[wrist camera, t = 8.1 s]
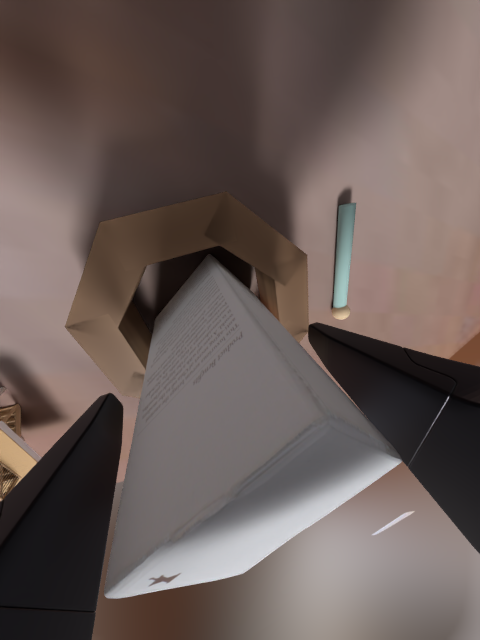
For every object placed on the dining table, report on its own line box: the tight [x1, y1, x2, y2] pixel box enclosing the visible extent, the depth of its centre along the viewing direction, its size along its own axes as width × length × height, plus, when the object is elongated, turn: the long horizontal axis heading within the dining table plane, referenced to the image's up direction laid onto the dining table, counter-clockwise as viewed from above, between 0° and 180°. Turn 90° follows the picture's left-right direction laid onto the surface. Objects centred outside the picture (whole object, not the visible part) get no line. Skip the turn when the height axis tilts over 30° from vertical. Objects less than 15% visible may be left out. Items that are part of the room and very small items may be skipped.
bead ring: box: [65, 191, 309, 398], centre depth 13 cm, size 12×12×4 cm
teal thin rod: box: [332, 203, 356, 320], centre depth 15 cm, size 9×1×1 cm, turn 13°
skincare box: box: [104, 254, 402, 598], centre depth 9 cm, size 6×4×12 cm
